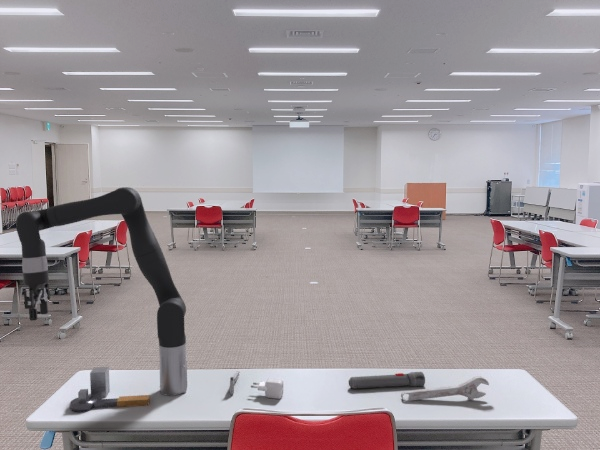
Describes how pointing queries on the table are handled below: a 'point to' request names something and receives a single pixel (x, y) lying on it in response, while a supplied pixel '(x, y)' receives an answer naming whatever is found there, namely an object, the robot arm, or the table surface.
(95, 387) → the brushed metal block
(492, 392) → the table surface
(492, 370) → the table surface
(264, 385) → the power adapter
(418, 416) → the table surface
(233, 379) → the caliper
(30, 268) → the robot arm
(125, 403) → the ratchet
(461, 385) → the wrench
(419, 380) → the flashlight
